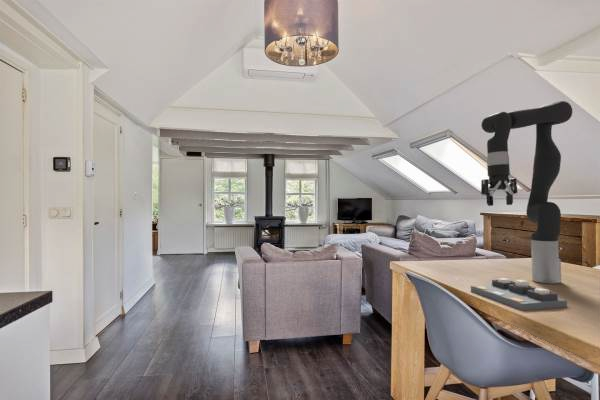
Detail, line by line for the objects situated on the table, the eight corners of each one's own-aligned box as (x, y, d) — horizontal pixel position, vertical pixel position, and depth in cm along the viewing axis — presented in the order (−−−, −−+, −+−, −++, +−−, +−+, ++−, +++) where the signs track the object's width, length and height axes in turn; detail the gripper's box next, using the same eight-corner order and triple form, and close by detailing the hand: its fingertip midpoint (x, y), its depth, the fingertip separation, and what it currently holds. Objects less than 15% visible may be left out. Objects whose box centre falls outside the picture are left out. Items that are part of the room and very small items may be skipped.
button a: (505, 283, 129) (504, 277, 129) (513, 285, 125) (513, 280, 125) (495, 283, 128) (495, 278, 128) (503, 286, 124) (503, 280, 124)
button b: (522, 285, 121) (522, 279, 121) (531, 287, 117) (531, 281, 117) (512, 285, 120) (512, 280, 120) (521, 288, 117) (521, 282, 117)
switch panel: (508, 288, 131) (507, 278, 132) (567, 306, 108) (566, 294, 108) (470, 291, 129) (470, 280, 129) (523, 310, 105) (522, 297, 105)
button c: (542, 293, 113) (541, 287, 113) (552, 297, 109) (552, 290, 109) (531, 294, 113) (531, 288, 113) (542, 297, 109) (542, 291, 109)
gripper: (506, 165, 140) (508, 204, 139) (475, 165, 137) (477, 206, 137) (521, 162, 132) (523, 204, 132) (489, 163, 130) (491, 206, 129)
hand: (499, 205), depth 134 cm, fingers open, 8 cm apart
